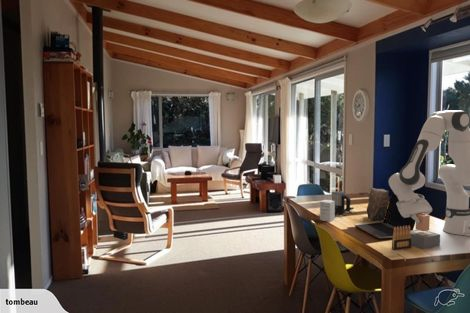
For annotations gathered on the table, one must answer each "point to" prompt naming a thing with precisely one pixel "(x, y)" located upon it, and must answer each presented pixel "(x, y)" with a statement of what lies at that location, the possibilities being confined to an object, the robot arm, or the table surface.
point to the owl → (377, 204)
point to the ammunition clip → (401, 238)
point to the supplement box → (327, 210)
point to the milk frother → (341, 202)
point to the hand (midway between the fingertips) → (423, 221)
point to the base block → (424, 239)
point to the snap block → (423, 222)
